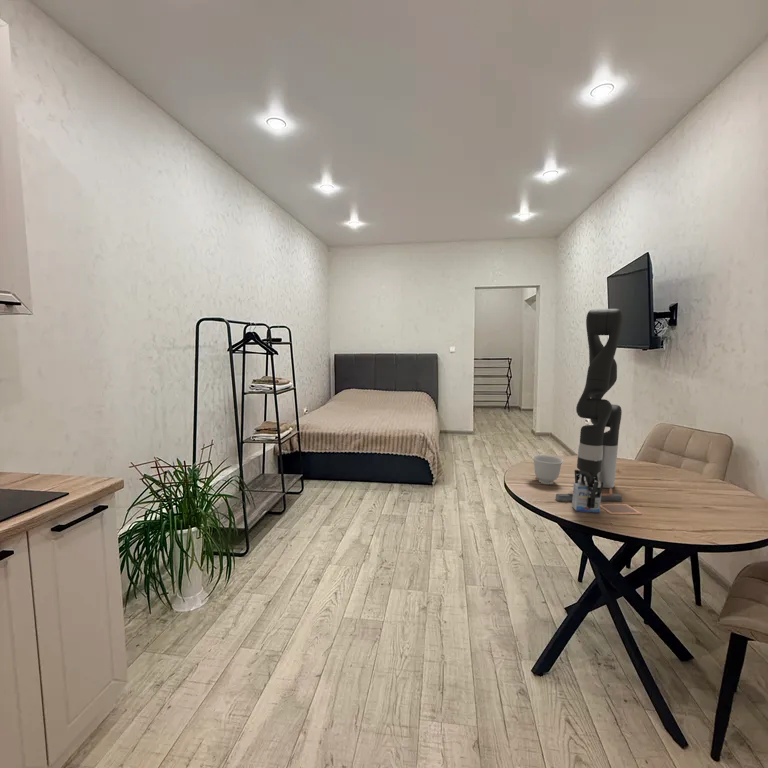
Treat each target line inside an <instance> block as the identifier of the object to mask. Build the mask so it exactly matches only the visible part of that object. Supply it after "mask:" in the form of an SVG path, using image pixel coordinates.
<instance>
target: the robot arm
mask: <svg viewBox="0 0 768 768" xmlns="http://www.w3.org/2000/svg"><path fill="white" fill-rule="evenodd" d="M585 325H586V326H585V327H586V335H587V337H586V338H587V342H588V344H587V345H588V356H589V361H588V363H589V365H588V368H587V371H586V372H587V373H586V379H585V381H586V382H585V385H584V388H583V391H582V394H581V395H580V397H579V399H578V402H577V404H576V408H575V411H576V414H577V416H578V417H579V418H581V419H587V420H588V419H589V420H590V422H591V424H587V425H583V426H582V427H580V435H579V445H578V449H577V450H578V451H577V462H576V467H577V469H574V483H579V484H585V486H586V490H587V491H588V500H587V507H588V508H594V506H595V498H600V495H601V494H602V491H603V488H604V489H610V488H612V489H613V488H614V487H615V481H616V471H617V462H618V461H617V460H618V449H619V447H618V446H619V435H620V427H621V420H622V408H621V406H620V405H618V404H612V403H611V402H610V400H608V399H604V398H603V397H604V396H605V394H607V392H609V390H611V388H612V387H613V386H614V385H615V383H617V379H618V366H617V365H618V364H617V362H616V360H615V355H616V351H617V348H618V345H619V344H618V343H619V341H620V340H619V339H620V337H621V332H622V329H623V312H622V310H621V309H619V308H594V309H591V310H590V309H589V310H588V312H587V314H586V318H585ZM600 336H608V339H607V341H606V343H605V345H604V344H603V343H602V340H601V338H600ZM606 428H610V429H609V430H607V431H605V429H606ZM589 487H593V488H589ZM591 490H592V494H591ZM596 492H597V493H596Z"/></svg>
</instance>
